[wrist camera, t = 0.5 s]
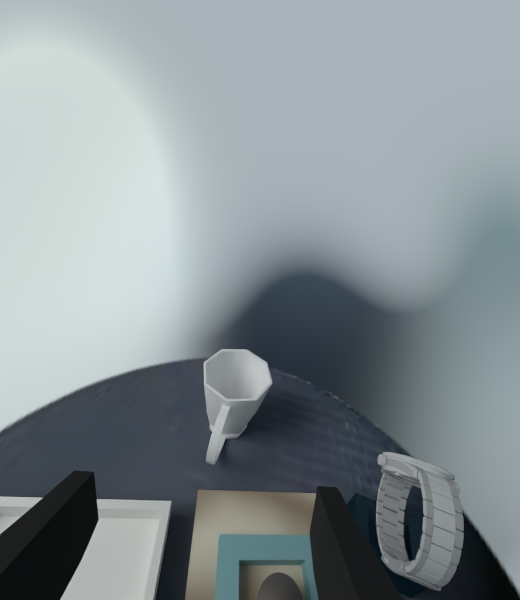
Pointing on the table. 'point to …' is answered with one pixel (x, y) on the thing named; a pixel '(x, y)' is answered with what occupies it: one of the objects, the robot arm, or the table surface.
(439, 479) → the watch
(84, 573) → the tray
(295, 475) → the table surface
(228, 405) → the cup
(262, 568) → the board
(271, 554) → the teal frame with handle
